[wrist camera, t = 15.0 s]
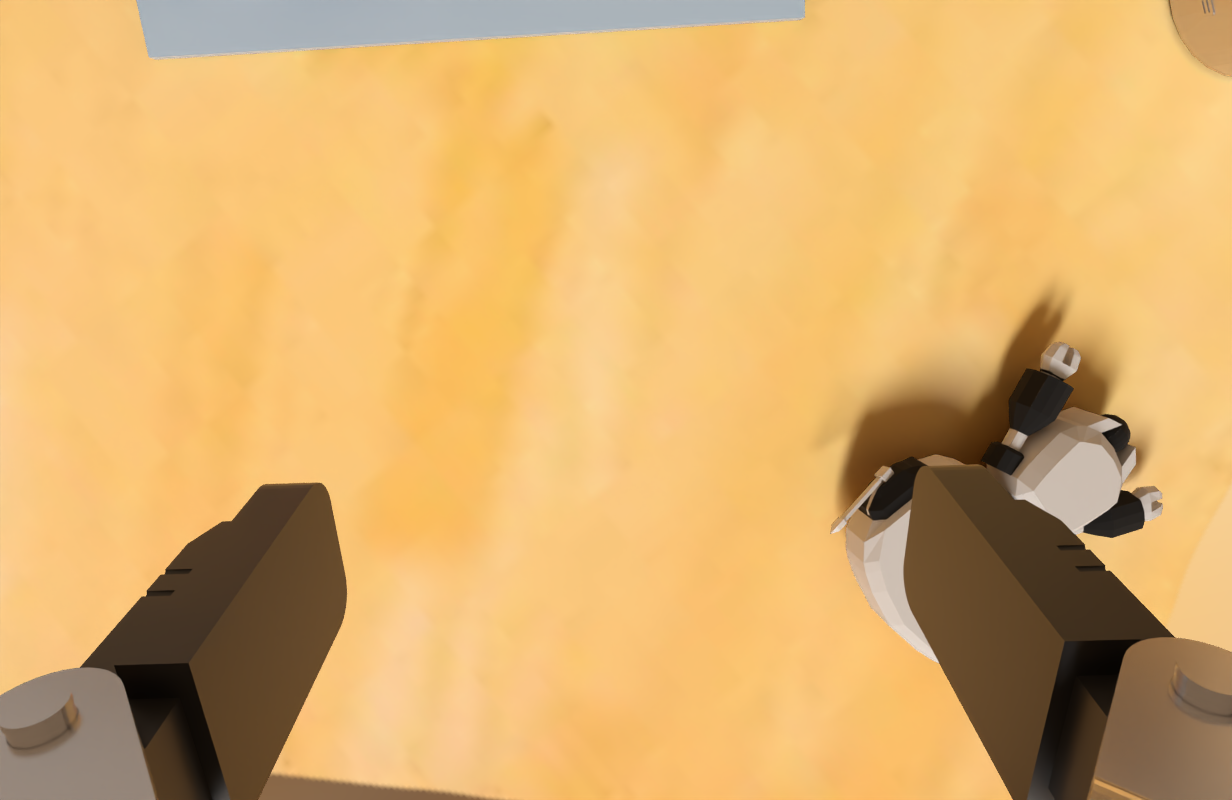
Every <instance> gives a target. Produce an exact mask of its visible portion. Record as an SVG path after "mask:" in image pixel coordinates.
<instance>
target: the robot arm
mask: <svg viewBox="0 0 1232 800" xmlns="http://www.w3.org/2000/svg"><path fill="white" fill-rule="evenodd" d="M1170 4H1171V10H1172V16H1173V20H1174V22H1175V25H1176V27H1177V30H1178V32H1179V35H1180V37H1181V39H1182V41H1183V42H1184V44H1185V45H1186V46H1187V48H1188V49H1189V51H1190V52H1191V54H1192V55H1193V56H1194V57H1196V58H1197V59H1198V60H1199V61H1200V62H1201V63H1203V64H1204V65H1205V66H1206V67H1208V68H1210V69H1212V70H1214V71H1216V72H1218V73H1221V74H1223V75H1226V76H1232V0H1170ZM165 570H166V572H165V575H160V576H159V577H158V579H157V580H156V581H155V582H154V583H153V584H152V585H151V587H150V588H149V589H148V590H147V595H146V597H141V598H140V599H139V600H138V601H137V603H136V604H135V605H134V606H133V607H132V608H131V610H130V611H129V612H128V613H127V614H126V615H125V616H124V618H123V619H122V620H121V621H120V622H119V623H118V624H117V626H116V627H115V628H114V629H113V630H112V631H111V632H110V634H109V635H108V636H107V637H106V638H105V639H104V640H103V642H102V643H101V644H100V645H99V646H98V647H97V649H96V650H95V651H94V652H93V653H92V654H91V655H90V657H89V658H88V659H87V660H86V661H85V662H84V663H83V665H82V666H81V667H80V668H74V669H67V670H62V671H58V672H54V673H50V674H47V675H44V676H41V677H38V678H35V679H33V680H30V681H28V682H26V683H23V684H21V685H19V686H17V687H15V688H13V689H11V690H9V691H7V692H5V693H4V694H2V695H0V800H258V799H259V797H260V795H261V793H262V790H263V788H264V786H265V784H266V782H267V780H268V778H269V776H270V774H271V772H272V769H273V767H274V765H275V763H276V761H277V759H278V757H279V755H280V753H281V751H282V748H283V746H284V744H285V742H286V740H287V738H288V736H289V734H290V732H291V730H292V728H293V725H294V723H295V721H296V719H297V717H298V715H299V713H300V711H301V709H302V707H303V704H304V702H305V700H306V698H307V696H308V694H309V692H310V690H311V688H312V686H313V683H314V681H315V679H316V677H317V675H318V673H319V671H320V669H321V667H322V665H323V662H324V660H325V658H326V656H327V654H328V652H329V650H330V648H331V646H332V644H333V641H334V639H335V637H336V635H337V633H338V631H339V629H340V627H341V624H342V621H343V618H344V614H345V608H346V600H347V585H346V577H345V571H344V566H343V561H342V556H341V551H340V546H339V541H338V536H337V531H336V526H335V521H334V516H333V511H332V506H331V501H330V497H329V494H328V491H327V489H326V487H325V486H324V485H323V484H322V483H290V484H265V485H262V486H261V487H260V488H259V489H258V490H257V491H256V492H255V493H254V495H253V496H252V497H251V498H250V500H249V501H248V502H247V503H246V504H245V506H244V507H243V508H242V509H241V510H240V512H239V513H238V514H237V515H236V517H235V518H234V519H233V520H232V521H226V522H221V523H219V524H218V525H216V526H215V527H213V528H212V529H210V530H209V531H207V532H205V533H204V534H202V535H201V536H199V537H198V538H196V539H195V540H193V541H191V542H190V543H188V544H187V545H186V546H185V548H184V549H183V550H182V551H181V552H180V553H179V554H178V556H177V557H176V558H175V559H174V560H173V561H172V562H171V564H170V565H169V566H168V567H167V568H166V569H165ZM903 578H904V587H905V593H906V598H907V601H908V604H909V607H910V609H911V612H912V614H913V615H914V617H915V619H916V621H917V623H918V625H919V627H920V628H921V630H922V632H923V634H924V636H925V638H926V639H927V641H928V643H929V645H930V647H931V649H932V651H933V652H934V654H935V656H936V658H937V660H938V662H939V664H940V665H941V667H942V669H943V671H944V673H945V675H946V676H947V678H948V680H949V682H950V684H951V686H952V688H953V689H954V691H955V693H956V695H957V697H958V699H959V701H960V702H961V704H962V706H963V708H964V710H965V712H966V713H967V715H968V717H969V719H970V721H971V723H972V725H973V726H974V728H975V730H976V732H977V734H978V736H979V738H980V739H981V741H982V743H983V745H984V747H985V749H986V750H987V752H988V754H989V756H990V758H991V760H992V762H993V763H994V765H995V767H996V769H997V771H998V773H999V775H1000V776H1001V778H1002V780H1003V782H1004V784H1005V786H1006V787H1007V789H1008V791H1009V793H1010V795H1011V797H1012V799H1013V800H1232V652H1230V651H1227V650H1224V649H1222V648H1219V647H1216V646H1214V645H1210V644H1206V643H1203V642H1199V641H1194V640H1189V639H1182V638H1175V637H1174V636H1173V635H1172V634H1171V633H1170V632H1169V631H1168V630H1167V629H1166V628H1165V627H1164V626H1163V625H1162V624H1161V623H1160V622H1159V620H1158V619H1157V618H1156V617H1155V616H1154V615H1153V614H1152V613H1151V612H1150V611H1149V610H1148V609H1147V608H1146V607H1145V606H1144V605H1143V604H1142V603H1141V602H1140V601H1139V600H1138V599H1137V598H1136V597H1135V596H1134V595H1133V594H1132V593H1131V592H1130V591H1129V590H1128V589H1127V588H1126V587H1125V585H1124V584H1123V583H1122V582H1121V581H1120V580H1119V579H1118V578H1117V577H1116V576H1115V575H1114V574H1113V573H1112V572H1111V571H1106V570H1105V565H1104V564H1103V563H1102V562H1101V561H1100V560H1099V559H1098V558H1097V557H1096V556H1095V555H1094V554H1093V553H1092V551H1091V550H1086V549H1085V544H1084V543H1083V542H1082V541H1081V540H1080V539H1079V538H1078V537H1077V536H1076V535H1075V534H1074V533H1073V532H1072V531H1071V530H1070V529H1069V528H1068V527H1067V526H1066V525H1065V524H1064V523H1063V522H1062V521H1061V520H1060V519H1058V518H1056V517H1055V516H1053V515H1051V514H1049V513H1048V512H1046V511H1044V510H1042V509H1041V508H1039V507H1037V506H1035V505H1034V504H1032V503H1030V502H1028V501H1026V500H1014V499H1013V498H1012V496H1011V495H1010V494H1009V493H1008V492H1007V491H1006V490H1005V489H1004V488H1003V487H1002V486H1001V484H1000V483H999V482H998V481H997V480H996V479H995V478H994V477H993V476H992V475H991V473H990V472H989V471H988V470H987V469H986V468H985V467H984V466H982V465H978V464H973V465H940V466H923V467H921V468H920V469H919V471H918V472H917V475H916V478H915V482H914V488H913V496H912V503H911V511H910V519H909V526H908V534H907V541H906V549H905V557H904V566H903Z"/></svg>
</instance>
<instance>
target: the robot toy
mask: <svg viewBox="0 0 1232 800" xmlns="http://www.w3.org/2000/svg"><path fill="white" fill-rule="evenodd" d="M1080 359H1081V356H1080V354H1079V352H1078V351H1077V350H1076V349H1074V348H1069V345H1067V344H1065V343H1062V342H1056V343H1052V344H1050V345H1049V346H1048V348H1047V349H1046V350H1045V351H1044V352H1043V353H1042V354H1041V365H1040V372H1039V371H1036V370H1032V369H1026V371H1025V373H1024V374H1023V376H1022V378H1021V380H1020V381H1019V383H1018V385H1017V387H1016V388H1015V390H1014V392H1013V393H1012V395H1011V397H1010V399H1009V422H1010V429H1009V431H1008V432H1007V434H1006V436H1005V438H1004V439H1003V441H1002V443H1000V442H991V444H990V446H989V447H988V449H987V451H986V453H985V454H984V456H983V458H982V460H981V461H982V462H984V463H986V464H987V468H986V469H987V470H988V471H989V472H990V473H991V475H992V476H993V477H994V478H995V479H996V480H997V481H998V482H999V483H1000V484H1001V486H1002V487H1003V488H1004V489H1005V490H1006V491H1007V492H1008V493H1009V494H1010V495H1011V496H1012V498H1013V499H1014V500H1026V501H1028V502H1030V503H1032V504H1034V505H1035V506H1037V507H1039V508H1041V509H1042V510H1044V511H1046V512H1048V513H1049V514H1051V515H1053V516H1055V517H1056V518H1058V519H1060V520H1061V521H1062V522H1063V523H1064V524H1065V525H1066V526H1067V527H1068V528H1069V529H1070V530H1071V531H1072V532H1073V533H1074V534H1075V535H1076V534H1079V533H1082V532H1084V533H1088V534H1092V535H1098V536H1104V537H1110V538H1113V537H1116V536H1120V535H1123V534H1126V533H1129V532H1132V531H1135V530H1139V529H1142V528H1143V525H1144V522H1145V521H1151V520H1153V519H1154V518H1156V517H1158V516H1159V515H1161V513H1162V509H1163V504H1162V503H1159V502H1157V500H1159V499H1162V493H1161V492H1160V491H1159V490H1158V489H1157V488H1156V487H1155V486H1151V487H1140V488H1136V489H1135V490H1134V491H1133V492H1132V493H1130V492H1128V491H1123V490H1121V487H1122V484H1123V482H1124V481H1125V479H1126V478H1127V476H1128V475H1129V473H1130V472H1131V471H1132V469H1133V468H1134V466H1135V465H1136V447H1133V446H1130V445H1128V442H1129V439H1130V430H1129V428H1128V425H1127V423H1126V422H1125V421H1124V420H1122V419H1121V418H1119V417H1117V416H1116V415H1108V414H1104V415H1098V414H1095V413H1091V412H1088V411H1085V410H1082V409H1079V408H1076V407H1071V408H1068V409H1066V410H1063V411H1061V410H1062V408H1063V406H1064V404H1065V403H1066V401H1067V399H1068V398H1069V396H1070V394H1071V392H1072V391H1073V389H1074V388H1072V387H1071V386H1069V385H1068V384H1066V383H1064V382H1063V381H1064V380H1065V379H1066V378H1068V377H1069V376H1071V375H1072V374H1073V373H1075V372H1076V371H1077V369H1078V366H1079V362H1080ZM1060 411H1061V412H1060ZM940 465H965V464H963V463H961V462H959V461H958V460H956V459H953V458H949V457H945V456H941V455H937V454H935V455H932V456H928V457H925V458H922V459H918V460H917V459H915V458H914V457H910V458H907V459H905V460H903V461H901V462H898V463H895V464H893V465H892V466H890V467H886V466H882V467H881V468H880V469H879V470H878V471H877V472H876V473H875V477H876V478H875V479H874V480H873V481H872V482H871V483H870V484H869V485H868V487H867V488H866V489H865V491H864V492H863V493H862V494H861V495H860V496H859V497H858V498H857V499H856V500H855V502H854V503H853V504H852V505H851V506H850V507H849V508H848V509H847V510H846V512H845V513H844V514H843V515H842V516H841V517H840V518H839V517H838V518H837V519H836V520H835V522H834V523H833V524H832V525H831V533H835V532H838V531H840V530H841V529H842V528H843V527H844V526H845V525H846V524H847V523H846V521H847V520H848V519H849V518H850V517H851V518H850V520H849V522H848V524H847V527H846V551H847V556H848V559H849V562H850V565H851V568H852V571H853V574H854V576H855V578H856V580H857V582H858V584H859V586H860V588H861V590H862V592H863V594H864V595H865V597H866V599H867V601H868V603H869V605H870V607H871V608H872V609H873V610H874V611H875V612H876V613H877V614H878V615H879V616H880V617H881V618H882V619H883V620H884V621H885V622H886V623H887V624H888V625H889V626H890V627H891V628H892V629H893V630H894V631H895V632H897V633H898V634H899V635H900V636H901V637H902V638H903V639H905V640H906V641H907V642H908V643H909V644H910V645H911V646H912V647H914V648H915V649H916V650H917V651H919V652H920V653H922V654H923V655H925V656H926V657H928V658H929V659H931V660H933V661H935V662H937V663H939V662H938V660H937V658H936V656H935V654H934V652H933V651H932V649H931V647H930V645H929V643H928V641H927V639H926V638H925V636H924V634H923V632H922V630H921V628H920V627H919V625H918V623H917V621H916V619H915V617H914V615H913V614H912V612H911V609H910V607H909V604H908V601H907V598H906V593H905V587H904V578H903V566H904V557H905V549H906V541H907V534H908V526H909V519H910V511H911V503H912V496H913V488H914V482H915V478H916V475H917V472H918V471H919V469H920V468H921V467H923V466H940ZM831 533H830V534H831Z"/></svg>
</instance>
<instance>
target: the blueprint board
mask: <svg viewBox="0 0 1232 800" xmlns="http://www.w3.org/2000/svg"><path fill="white" fill-rule="evenodd" d="M136 1H137V6H138V10H139V15H140V19H141V24H142V28H143V33H144V37H145V42H146V47H147V51H148V56H149V58H152V59H172V58H189V57H205V56H221V55H238V54H254V53H270V52H287V51H303V50H319V49H335V48H352V47H368V46H384V45H401V44H417V43H433V42H449V41H466V40H482V39H498V38H515V37H531V36H547V35H563V34H580V33H596V32H612V31H629V30H645V29H661V28H677V27H694V26H710V25H726V24H743V23H759V22H775V21H792V20H801V19H803V18H805V0H136Z"/></svg>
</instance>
